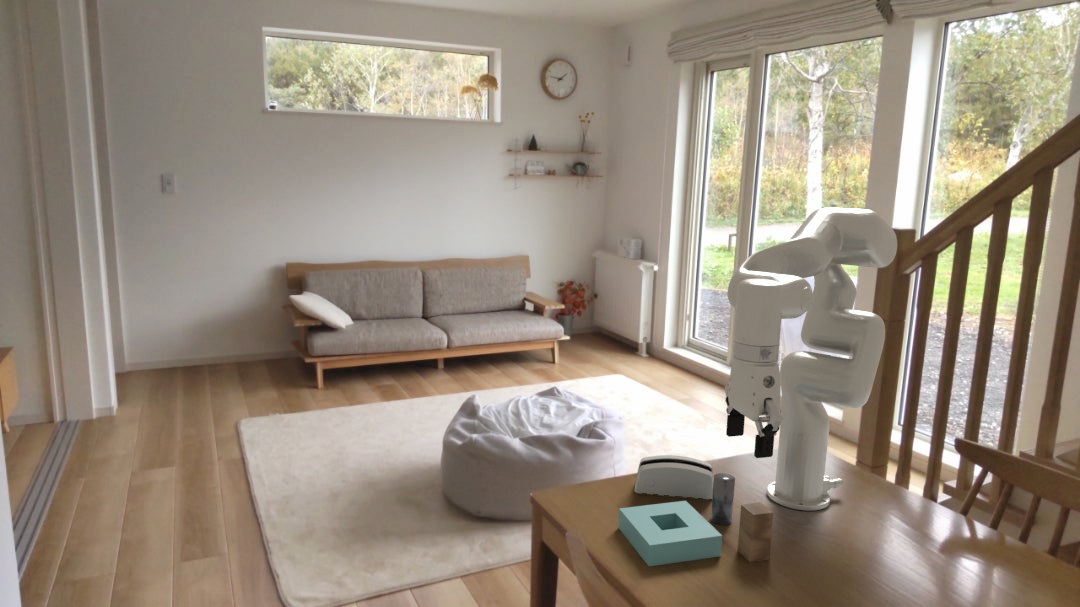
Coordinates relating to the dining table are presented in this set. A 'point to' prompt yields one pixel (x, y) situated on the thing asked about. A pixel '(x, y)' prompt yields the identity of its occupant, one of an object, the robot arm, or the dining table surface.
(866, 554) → the dining table surface
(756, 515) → the square peg
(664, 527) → the bore block
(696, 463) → the slotted arch block
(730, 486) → the round peg
